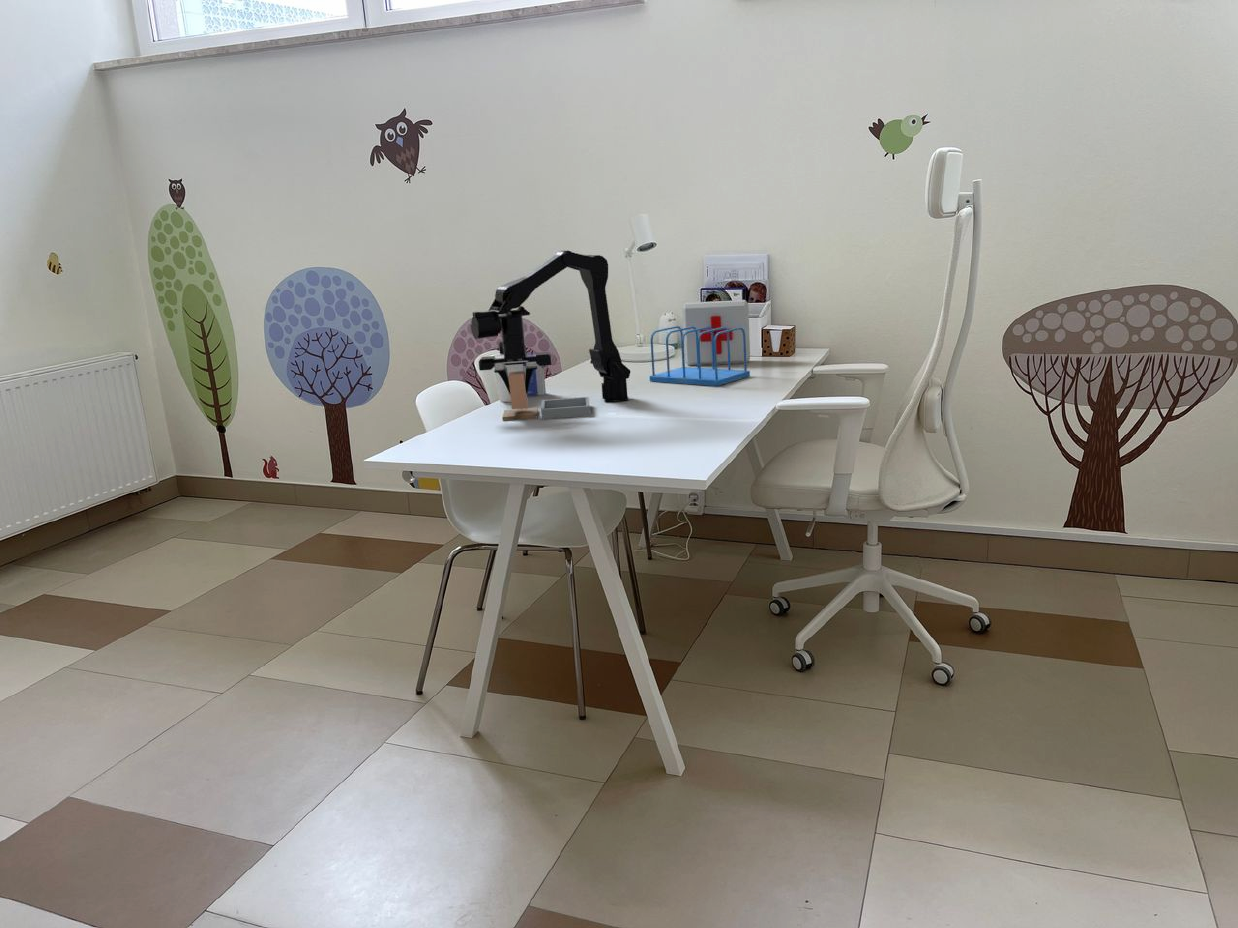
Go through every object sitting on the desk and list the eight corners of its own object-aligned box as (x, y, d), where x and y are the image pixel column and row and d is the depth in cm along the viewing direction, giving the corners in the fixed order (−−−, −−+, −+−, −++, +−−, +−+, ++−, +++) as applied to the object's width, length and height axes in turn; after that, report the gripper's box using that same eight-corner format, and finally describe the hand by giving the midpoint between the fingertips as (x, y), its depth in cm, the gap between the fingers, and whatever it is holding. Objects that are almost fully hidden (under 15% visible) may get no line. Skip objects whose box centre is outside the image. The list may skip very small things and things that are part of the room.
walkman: (518, 396, 276) (514, 355, 273) (520, 394, 279) (516, 354, 276) (544, 395, 275) (541, 354, 272) (546, 393, 278) (542, 353, 275)
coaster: (538, 411, 254) (537, 407, 253) (537, 418, 245) (536, 414, 245) (504, 413, 253) (504, 410, 253) (502, 420, 245) (502, 417, 244)
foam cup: (521, 402, 267) (516, 357, 263) (490, 403, 269) (485, 358, 265) (530, 395, 276) (526, 351, 272) (500, 396, 278) (496, 353, 274)
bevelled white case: (684, 367, 306) (681, 305, 301) (686, 363, 314) (683, 302, 309) (749, 364, 303) (747, 302, 297) (750, 360, 310) (748, 299, 305)
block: (527, 404, 251) (524, 371, 249) (527, 408, 246) (523, 374, 244) (512, 405, 251) (509, 372, 248) (511, 409, 246) (508, 375, 244)
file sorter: (750, 376, 282) (748, 325, 278) (718, 387, 269) (715, 334, 265) (682, 372, 298) (680, 323, 294) (649, 382, 285) (646, 331, 281)
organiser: (589, 405, 256) (588, 396, 255) (590, 415, 244) (589, 405, 243) (542, 409, 255) (542, 400, 255) (541, 419, 243) (540, 409, 243)
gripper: (549, 328, 252) (554, 385, 256) (479, 333, 251) (485, 390, 255) (548, 333, 241) (554, 393, 245) (475, 338, 240) (482, 398, 244)
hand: (518, 393), depth 248 cm, fingers closed on block, 4 cm apart
